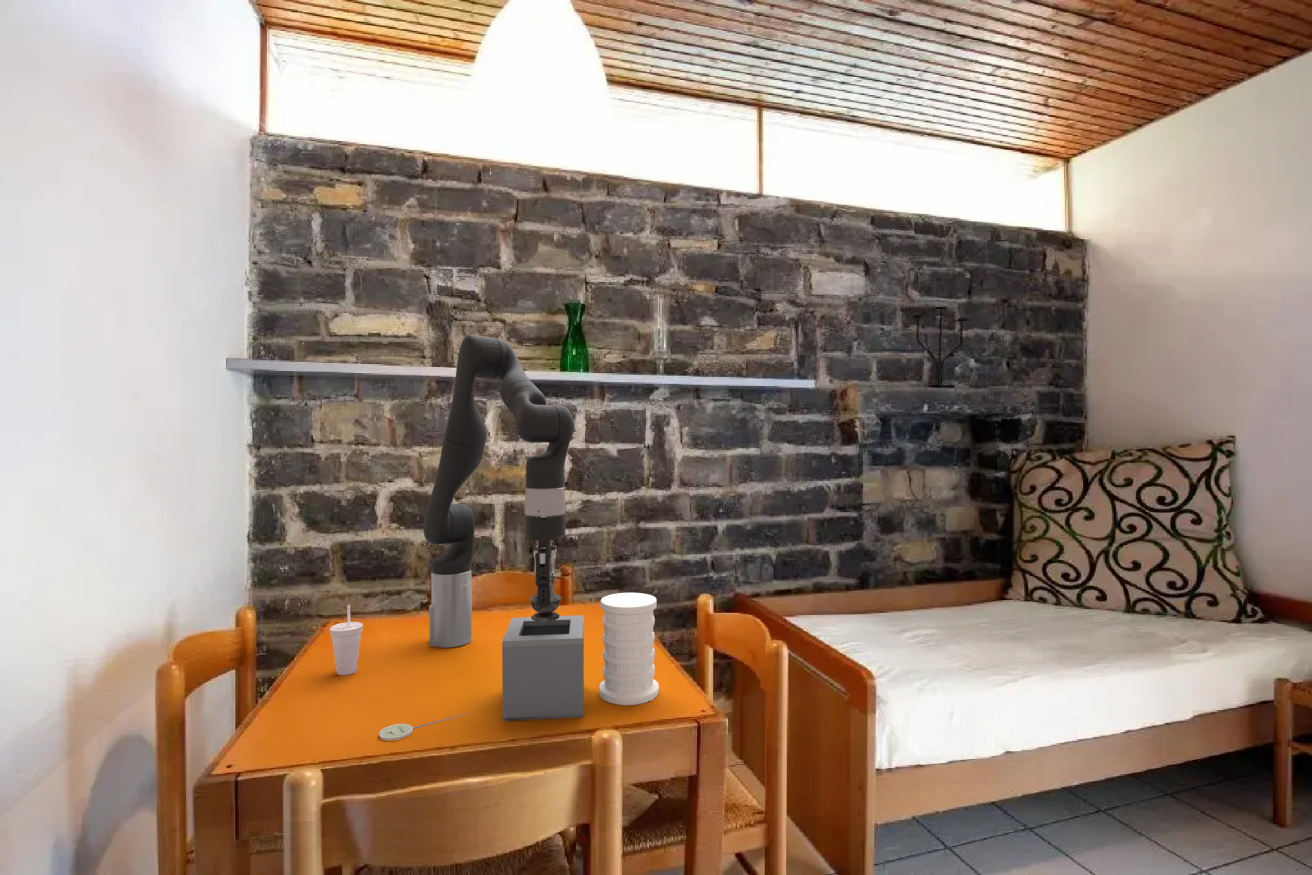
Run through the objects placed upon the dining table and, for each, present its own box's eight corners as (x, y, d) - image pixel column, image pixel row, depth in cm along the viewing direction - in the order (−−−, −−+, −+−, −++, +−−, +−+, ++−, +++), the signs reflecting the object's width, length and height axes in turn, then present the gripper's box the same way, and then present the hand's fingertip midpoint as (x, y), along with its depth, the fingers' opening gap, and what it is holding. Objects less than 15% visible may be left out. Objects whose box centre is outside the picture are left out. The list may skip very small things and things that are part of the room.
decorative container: (591, 686, 124) (591, 595, 124) (645, 676, 128) (645, 589, 128) (610, 709, 113) (610, 610, 113) (668, 698, 118) (668, 603, 117)
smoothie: (370, 668, 133) (369, 603, 133) (344, 679, 127) (343, 611, 127) (349, 664, 136) (348, 600, 136) (322, 674, 130) (322, 607, 130)
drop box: (502, 721, 108) (502, 641, 108) (512, 688, 122) (512, 617, 122) (583, 717, 110) (583, 638, 110) (583, 685, 124) (583, 615, 124)
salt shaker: (554, 622, 113) (554, 556, 113) (524, 620, 114) (524, 555, 114) (565, 613, 118) (565, 550, 118) (536, 611, 120) (536, 549, 120)
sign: (473, 716, 110) (383, 741, 101) (473, 721, 110) (383, 746, 101) (463, 706, 114) (375, 729, 105) (463, 711, 114) (375, 734, 105)
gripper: (528, 507, 123) (528, 592, 123) (520, 517, 108) (520, 613, 109) (566, 506, 124) (566, 591, 124) (563, 516, 109) (564, 612, 109)
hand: (545, 601), depth 116 cm, fingers closed on salt shaker, 5 cm apart
